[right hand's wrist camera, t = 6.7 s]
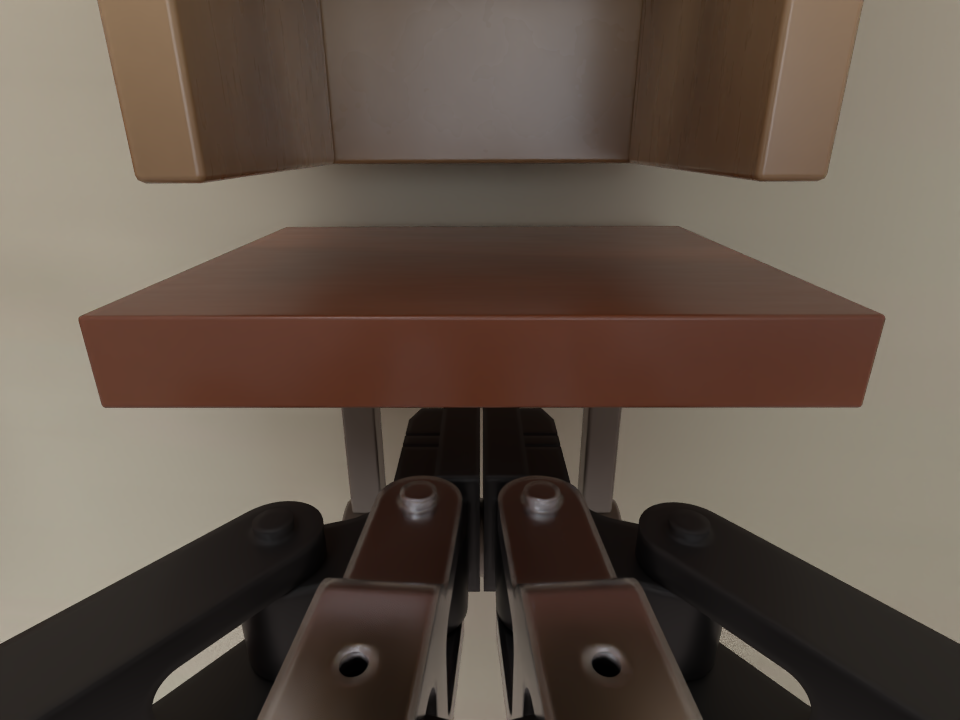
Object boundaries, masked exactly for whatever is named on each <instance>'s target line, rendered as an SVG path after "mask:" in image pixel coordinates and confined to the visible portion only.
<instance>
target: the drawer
mask: <svg viewBox="0 0 960 720" xmlns="http://www.w3.org/2000/svg"><path fill="white" fill-rule="evenodd" d="M97 1H98V5H99V10H100V15H101V19H102V24H103V29H104V33H105V38H106V42H107V47H108V52H109V56H110V61H111V66H112V70H113V75H114V79H115V84H116V89H117V93H118V98H119V103H120V107H121V112H122V116H123V121H124V126H125V130H126V135H127V140H128V144H129V149H130V153H131V158H132V163H133V167H134V172H135V176H136V177H137V179H138V180H139V181H142V182H144V183H205V182H212V181H219V180H226V179H232V178H239V177H246V176H253V175H260V174H267V173H274V172H281V171H288V170H295V169H301V168H308V167H315V166H322V165H329V164H470V163H635V164H642V165H649V166H656V167H663V168H670V169H677V170H684V171H691V172H698V173H705V174H712V175H719V176H726V177H733V178H740V179H747V180H754V181H819V180H822V179H824V178H825V177H826V175H827V172H828V167H829V162H830V158H831V153H832V148H833V143H834V139H835V134H836V129H837V124H838V120H839V115H840V110H841V105H842V101H843V96H844V91H845V86H846V82H847V77H848V72H849V67H850V63H851V58H852V53H853V48H854V44H855V39H856V34H857V29H858V25H859V20H860V15H861V10H862V6H863V1H864V0H97ZM884 322H885V316H884V315H882V314H880V313H878V312H876V311H873V310H871V309H869V308H866V307H864V306H862V305H859V304H857V303H855V302H852V301H850V300H848V299H846V298H843V297H841V296H839V295H836V294H834V293H832V292H829V291H827V290H825V289H822V288H820V287H818V286H815V285H813V284H811V283H809V282H806V281H804V280H802V279H799V278H797V277H795V276H792V275H790V274H788V273H785V272H783V271H781V270H778V269H776V268H774V267H772V266H769V265H767V264H765V263H762V262H760V261H758V260H755V259H753V258H751V257H748V256H746V255H744V254H742V253H739V252H737V251H735V250H732V249H730V248H728V247H725V246H723V245H721V244H718V243H716V242H714V241H711V240H709V239H707V238H705V237H702V236H700V235H698V234H695V233H693V232H691V231H688V230H686V229H684V228H681V227H679V226H562V227H286V228H283V229H281V230H279V231H277V232H274V233H272V234H270V235H267V236H265V237H263V238H260V239H258V240H256V241H253V242H251V243H249V244H246V245H244V246H242V247H239V248H237V249H235V250H232V251H230V252H228V253H226V254H223V255H221V256H219V257H216V258H214V259H212V260H209V261H207V262H205V263H202V264H200V265H198V266H195V267H193V268H191V269H188V270H186V271H184V272H181V273H179V274H177V275H174V276H172V277H170V278H168V279H165V280H163V281H161V282H158V283H156V284H154V285H151V286H149V287H147V288H144V289H142V290H140V291H137V292H135V293H133V294H130V295H128V296H126V297H123V298H121V299H119V300H117V301H114V302H112V303H110V304H107V305H105V306H103V307H100V308H98V309H96V310H93V311H91V312H89V313H86V314H84V315H82V316H80V317H79V324H80V327H81V331H82V335H83V338H84V342H85V346H86V349H87V353H88V356H89V360H90V364H91V367H92V371H93V375H94V378H95V382H96V385H97V389H98V393H99V396H100V400H101V404H102V406H103V407H105V408H342V417H343V427H344V436H345V446H346V455H347V465H348V475H349V484H350V494H351V500H349V502H348V504H347V506H346V509H345V512H344V515H343V520H342V521H344V520H348V519H352V518H356V517H359V516H362V515H364V514H366V513H368V512H370V511H371V508H372V506H373V503H374V501H375V499H376V497H377V495H378V493H379V492H380V491H381V490H382V489H383V488H384V487H386V480H385V467H384V454H383V441H382V428H381V415H380V408H541V407H584V409H583V423H582V437H581V452H580V466H579V480H578V490H579V491H580V492H581V493H582V495H583V497H584V499H585V501H586V503H587V506H588V508H589V509H590V510H592V511H594V512H596V513H598V514H600V515H603V516H606V517H609V518H613V519H617V520H621V516H620V512H619V509H618V506H617V504H616V502H615V501H614V500H613V489H614V479H615V469H616V459H617V448H618V438H619V428H620V418H621V407H861V405H862V403H863V400H864V396H865V392H866V389H867V385H868V381H869V377H870V374H871V370H872V366H873V363H874V359H875V355H876V352H877V348H878V344H879V341H880V337H881V333H882V329H883V326H884ZM621 521H622V520H621ZM480 577H484V546H483V498H480Z"/></svg>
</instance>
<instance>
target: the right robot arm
mask: <svg viewBox="0 0 960 720" xmlns="http://www.w3.org/2000/svg"><path fill="white" fill-rule="evenodd" d="M483 546H484V591H496V637H497V645H498V653H499V661H500V669H501V677H502V685H503V693H504V702H505V710H506V718H507V720H960V644H959V643H957V642H955V641H953V640H951V639H949V638H947V637H946V636H944V635H942V634H940V633H938V632H936V631H934V630H932V629H931V628H929V627H927V626H925V625H923V624H921V623H919V622H918V621H916V620H914V619H912V618H910V617H908V616H906V615H904V614H903V613H901V612H899V611H897V610H895V609H893V608H891V607H889V606H888V605H886V604H884V603H882V602H880V601H878V600H876V599H874V598H873V597H871V596H869V595H867V594H865V593H863V592H861V591H859V590H858V589H856V588H854V587H852V586H850V585H848V584H846V583H844V582H843V581H841V580H839V579H837V578H835V577H833V576H831V575H829V574H828V573H826V572H824V571H822V570H820V569H818V568H816V567H814V566H813V565H811V564H809V563H807V562H805V561H803V560H801V559H799V558H798V557H796V556H794V555H792V554H790V553H788V552H786V551H784V550H783V549H781V548H779V547H777V546H775V545H773V544H771V543H769V542H768V541H766V540H764V539H762V538H760V537H758V536H756V535H754V534H753V533H751V532H749V531H747V530H745V529H743V528H741V527H739V526H738V525H736V524H734V523H732V522H730V521H728V520H726V519H724V518H723V517H721V516H719V515H717V514H715V513H713V512H711V511H709V510H707V509H704V508H701V507H699V506H695V505H691V504H686V503H677V502H669V503H661V504H657V505H654V506H652V507H649V508H648V509H646V510H645V511H644V512H643V513H642V515H641V517H640V519H639V524H635V523H631V522H626V521H621V520H617V519H613V518H609V517H606V516H603V515H600V514H598V513H596V512H594V511H592V510H590V509H589V508H588V506H587V503H586V501H585V499H584V497H583V495H582V493H581V492H580V491H579V490H578V489H577V488H576V487H574V486H573V485H571V484H570V480H569V476H568V472H567V468H566V464H565V461H564V457H563V453H562V449H561V447H560V441H559V438H558V436H557V430H556V426H555V422H554V419H553V418H551V417H550V416H549V415H548V414H547V413H546V412H545V411H544V410H543V409H541V408H483ZM468 592H480V408H422V409H421V410H419V411H418V412H417V413H416V414H415V415H414V416H413V417H412V418H411V419H410V420H409V423H408V427H407V431H406V436H405V439H404V443H403V447H402V451H401V455H400V459H399V463H398V467H397V471H396V475H395V479H394V482H392V483H390V484H389V485H387V486H386V487H384V488H383V489H382V490H381V491H380V492H379V493H378V495H377V497H376V499H375V501H374V503H373V506H372V508H371V511H370V512H368V513H366V514H364V515H362V516H359V517H356V518H352V519H348V520H344V521H339V522H334V523H330V524H325V525H324V524H323V518H322V515H321V513H320V512H319V511H318V510H317V509H316V508H315V507H313V506H311V505H309V504H306V503H302V502H296V501H283V502H275V503H270V504H267V505H263V506H260V507H258V508H255V509H253V510H251V511H249V512H247V513H245V514H243V515H241V516H239V517H237V518H236V519H234V520H232V521H230V522H228V523H226V524H224V525H222V526H221V527H219V528H217V529H215V530H213V531H211V532H209V533H207V534H206V535H204V536H202V537H200V538H198V539H196V540H194V541H192V542H191V543H189V544H187V545H185V546H183V547H181V548H179V549H177V550H176V551H174V552H172V553H170V554H168V555H166V556H164V557H162V558H161V559H159V560H157V561H155V562H153V563H151V564H149V565H147V566H146V567H144V568H142V569H140V570H138V571H136V572H134V573H132V574H131V575H129V576H127V577H125V578H123V579H121V580H119V581H117V582H116V583H114V584H112V585H110V586H108V587H106V588H104V589H102V590H101V591H99V592H97V593H95V594H93V595H91V596H89V597H87V598H86V599H84V600H82V601H80V602H78V603H76V604H74V605H73V606H71V607H69V608H67V609H65V610H63V611H61V612H59V613H58V614H56V615H54V616H52V617H50V618H48V619H46V620H44V621H43V622H41V623H39V624H37V625H35V626H33V627H31V628H29V629H28V630H26V631H24V632H22V633H20V634H18V635H16V636H14V637H13V638H11V639H9V640H7V641H5V642H3V643H1V644H0V720H453V718H454V710H455V702H456V694H457V686H458V677H459V669H460V661H461V653H462V645H463V637H464V618H465V616H466V613H467V608H468ZM241 624H242V628H243V633H244V637H245V639H244V640H243V641H242V642H240V643H239V644H237V645H236V646H235V647H233V648H232V649H230V650H229V651H228V652H226V653H225V654H223V655H222V656H221V657H219V658H218V659H216V660H215V661H214V662H212V663H211V664H209V665H208V666H207V667H205V668H204V669H202V670H201V671H200V672H198V673H197V674H195V675H194V676H192V677H191V678H190V679H188V680H187V681H185V682H184V683H183V684H181V685H180V686H178V687H177V688H176V689H174V690H173V691H171V692H170V693H169V694H167V695H166V696H164V697H163V698H162V699H160V700H159V701H157V702H156V703H154V704H153V705H152V703H153V699H154V696H155V694H156V692H157V690H158V688H159V687H160V685H161V684H162V682H163V681H164V680H165V679H166V678H167V677H168V676H169V675H170V674H171V673H172V672H173V671H174V670H176V669H177V668H178V667H180V666H181V665H183V664H184V663H185V662H187V661H188V660H190V659H191V658H193V657H194V656H196V655H197V654H199V653H200V652H201V651H203V650H204V649H206V648H207V647H209V646H210V645H212V644H213V643H215V642H216V641H218V640H219V639H220V638H222V637H223V636H225V635H226V634H228V633H229V632H231V631H232V630H234V629H235V628H236V627H238V626H239V625H241ZM722 627H724V628H725V629H726V630H728V631H729V632H731V633H732V634H734V635H735V636H737V637H738V638H740V639H741V640H743V641H744V642H745V643H747V644H748V645H750V646H751V647H753V648H754V649H756V650H757V651H759V652H760V653H761V654H763V655H764V656H766V657H767V658H769V659H770V660H772V661H773V662H775V663H776V664H777V665H779V666H780V667H782V668H783V669H785V670H786V671H787V672H789V673H790V674H791V675H792V676H793V677H794V678H795V679H796V680H797V681H798V682H799V683H800V684H801V686H802V687H803V688H804V690H805V692H806V693H807V695H808V698H809V700H810V704H811V707H810V706H809V705H807V704H805V703H804V702H803V701H801V700H800V699H798V698H797V697H796V696H794V695H793V694H791V693H790V692H789V691H787V690H786V689H784V688H783V687H782V686H780V685H779V684H777V683H776V682H775V681H773V680H772V679H770V678H769V677H768V676H766V675H765V674H763V673H762V672H761V671H759V670H758V669H756V668H755V667H753V666H752V665H751V664H749V663H748V662H746V661H745V660H744V659H742V658H741V657H739V656H738V655H737V654H735V653H734V652H732V651H731V650H730V649H728V648H727V647H725V646H724V645H723V644H721V643H720V642H719V639H720V635H721V630H722Z"/></svg>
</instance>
